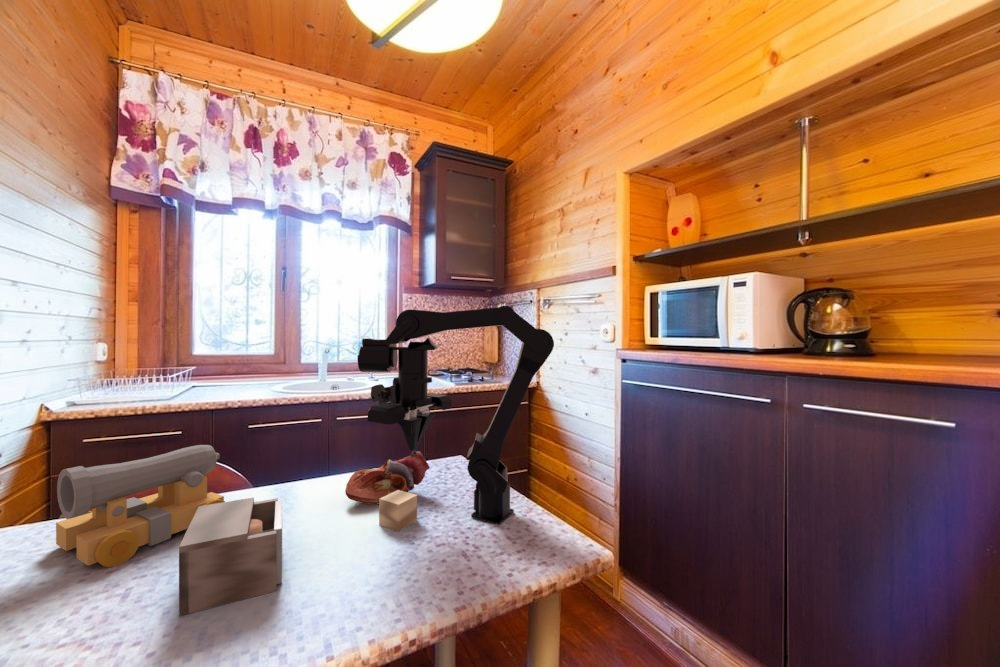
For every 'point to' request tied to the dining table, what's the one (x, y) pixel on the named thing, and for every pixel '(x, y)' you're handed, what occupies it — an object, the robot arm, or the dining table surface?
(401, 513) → the block
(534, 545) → the dining table surface
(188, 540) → the housing
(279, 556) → the drawer
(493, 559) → the dining table surface
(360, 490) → the anatomical model
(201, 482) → the toy cannon
